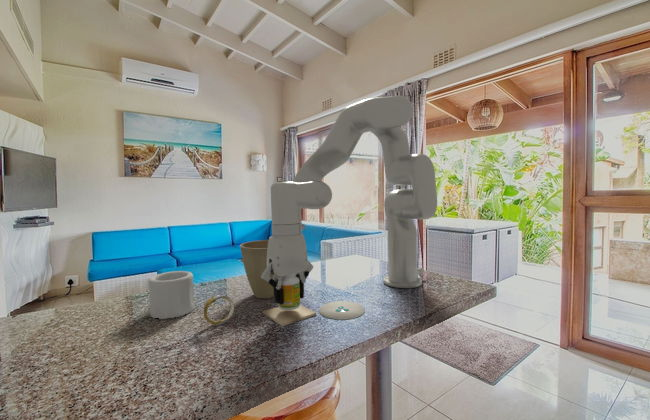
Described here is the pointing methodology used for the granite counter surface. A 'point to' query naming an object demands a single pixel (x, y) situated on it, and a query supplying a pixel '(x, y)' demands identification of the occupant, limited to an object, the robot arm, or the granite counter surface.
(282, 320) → the wooden mat
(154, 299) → the mug
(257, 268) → the plant pot
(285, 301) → the supplement bottle
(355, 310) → the coaster
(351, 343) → the granite counter surface
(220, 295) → the ring
